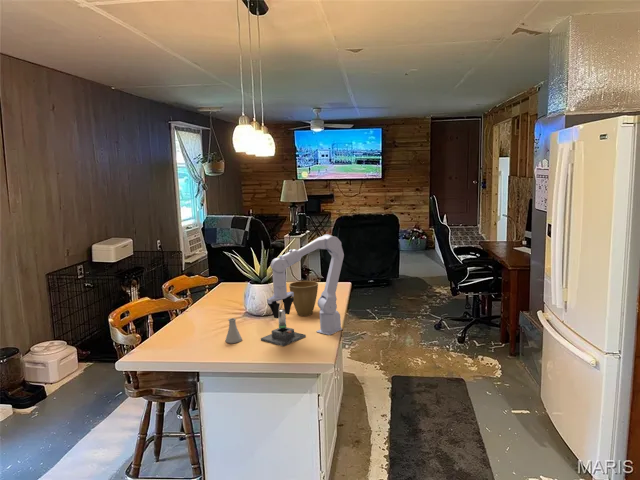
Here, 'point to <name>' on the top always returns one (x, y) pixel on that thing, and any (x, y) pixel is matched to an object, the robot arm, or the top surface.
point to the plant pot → (304, 296)
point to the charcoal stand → (283, 336)
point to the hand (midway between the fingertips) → (281, 315)
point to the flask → (233, 332)
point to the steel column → (282, 319)
